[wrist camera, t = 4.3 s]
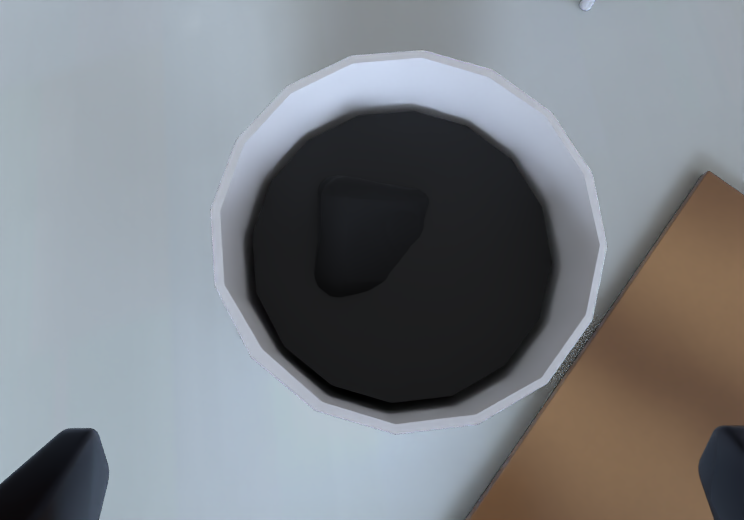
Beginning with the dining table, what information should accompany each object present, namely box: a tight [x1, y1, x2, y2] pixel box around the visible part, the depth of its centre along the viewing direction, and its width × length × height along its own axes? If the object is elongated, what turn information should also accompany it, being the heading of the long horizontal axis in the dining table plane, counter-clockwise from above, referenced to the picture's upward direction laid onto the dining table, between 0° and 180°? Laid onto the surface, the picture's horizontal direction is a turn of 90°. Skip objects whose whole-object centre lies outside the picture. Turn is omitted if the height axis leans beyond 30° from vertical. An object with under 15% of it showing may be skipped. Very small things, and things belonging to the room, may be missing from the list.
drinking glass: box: [210, 50, 607, 435], centre depth 15 cm, size 7×7×10 cm
